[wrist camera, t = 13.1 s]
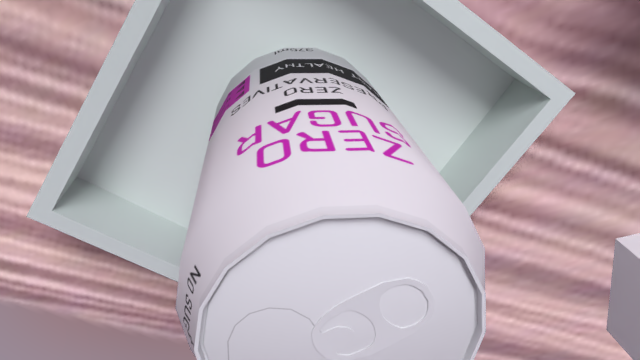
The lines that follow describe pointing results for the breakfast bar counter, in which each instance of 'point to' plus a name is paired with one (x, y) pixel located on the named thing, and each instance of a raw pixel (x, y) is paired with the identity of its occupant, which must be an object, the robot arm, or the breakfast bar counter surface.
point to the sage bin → (237, 52)
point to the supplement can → (324, 227)
